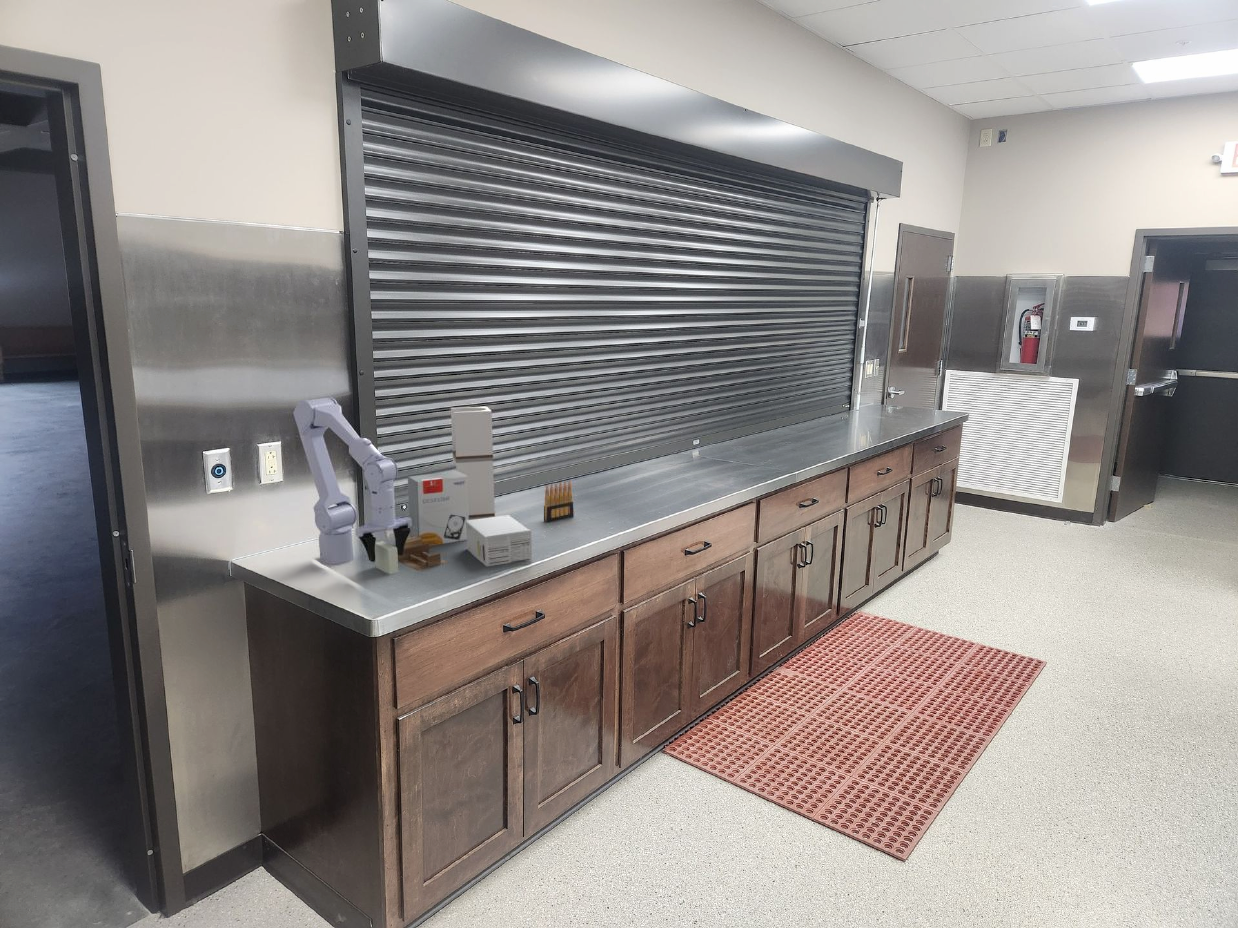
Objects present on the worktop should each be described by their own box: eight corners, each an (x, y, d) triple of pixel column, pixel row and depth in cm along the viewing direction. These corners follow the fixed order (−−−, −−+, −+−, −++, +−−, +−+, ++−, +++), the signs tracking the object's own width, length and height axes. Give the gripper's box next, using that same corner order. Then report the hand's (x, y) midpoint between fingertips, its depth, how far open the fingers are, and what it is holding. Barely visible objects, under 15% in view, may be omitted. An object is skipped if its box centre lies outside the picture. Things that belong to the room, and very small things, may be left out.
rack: (389, 559, 216) (389, 546, 215) (419, 552, 222) (418, 539, 221) (418, 573, 205) (417, 559, 205) (448, 565, 211) (447, 551, 211)
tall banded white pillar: (489, 510, 265) (486, 406, 258) (495, 519, 255) (491, 411, 248) (455, 513, 262) (450, 408, 255) (458, 522, 252) (454, 412, 245)
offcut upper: (396, 548, 216) (395, 541, 215) (415, 543, 220) (414, 536, 219) (402, 551, 213) (402, 543, 213) (421, 546, 218) (421, 538, 217)
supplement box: (466, 552, 223) (464, 520, 221) (510, 545, 229) (509, 514, 227) (485, 570, 208) (484, 535, 206) (532, 562, 214) (532, 529, 213)
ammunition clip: (547, 522, 252) (546, 485, 249) (543, 521, 253) (542, 484, 251) (573, 516, 259) (573, 480, 256) (570, 515, 260) (570, 479, 257)
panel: (375, 568, 208) (374, 543, 206) (384, 566, 209) (382, 541, 208) (390, 576, 202) (388, 549, 201) (398, 573, 204) (397, 547, 203)
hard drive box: (418, 550, 224) (414, 481, 220) (409, 543, 230) (406, 476, 226) (470, 541, 232) (468, 475, 228) (461, 535, 238) (458, 470, 234)
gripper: (363, 514, 195) (366, 567, 197) (416, 504, 204) (419, 555, 207) (350, 509, 200) (353, 560, 202) (403, 499, 209) (405, 548, 212)
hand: (386, 557), depth 205 cm, fingers open, 7 cm apart
